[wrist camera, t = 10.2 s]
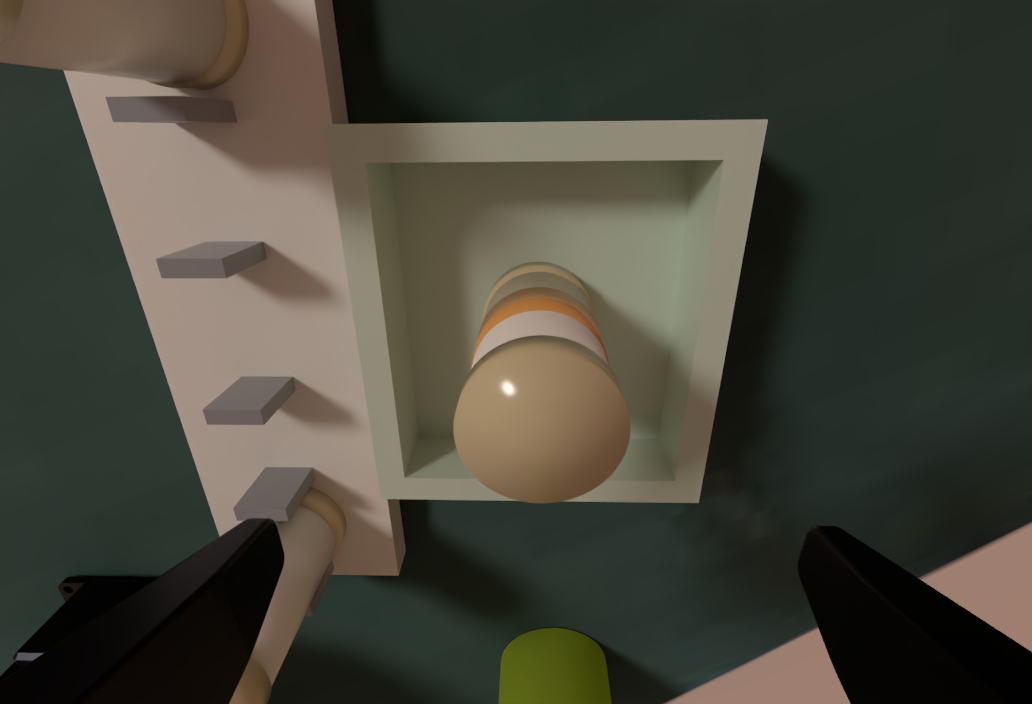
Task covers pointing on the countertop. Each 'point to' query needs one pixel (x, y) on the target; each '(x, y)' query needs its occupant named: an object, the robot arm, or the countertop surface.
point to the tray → (554, 239)
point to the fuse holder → (250, 276)
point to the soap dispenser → (553, 669)
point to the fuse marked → (540, 391)
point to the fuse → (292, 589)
